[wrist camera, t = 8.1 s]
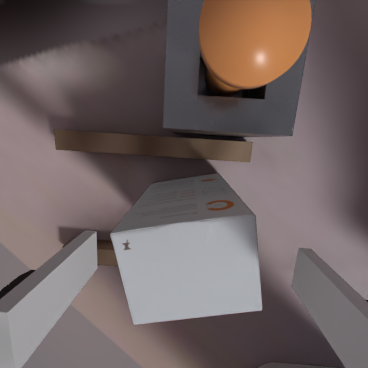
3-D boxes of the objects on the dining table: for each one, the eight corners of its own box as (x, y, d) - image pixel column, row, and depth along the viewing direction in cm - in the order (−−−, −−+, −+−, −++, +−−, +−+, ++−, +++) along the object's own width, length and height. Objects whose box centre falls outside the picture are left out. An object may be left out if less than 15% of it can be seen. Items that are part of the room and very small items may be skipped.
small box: (160, 232, 25) (130, 328, 13) (150, 182, 24) (105, 232, 11) (226, 223, 25) (265, 314, 12) (220, 171, 23) (256, 211, 11)
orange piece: (260, 43, 14) (321, -39, 8) (252, 110, 15) (300, 87, 9) (197, 39, 14) (204, -45, 8) (193, 106, 15) (195, 81, 9)
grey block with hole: (258, 55, 21) (318, -19, 11) (247, 137, 22) (292, 135, 13) (178, 51, 21) (168, -27, 11) (174, 132, 23) (162, 127, 13)
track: (247, 141, 23) (252, 142, 21) (231, 264, 26) (235, 274, 24) (66, 130, 23) (54, 129, 21) (72, 252, 26) (63, 262, 24)
